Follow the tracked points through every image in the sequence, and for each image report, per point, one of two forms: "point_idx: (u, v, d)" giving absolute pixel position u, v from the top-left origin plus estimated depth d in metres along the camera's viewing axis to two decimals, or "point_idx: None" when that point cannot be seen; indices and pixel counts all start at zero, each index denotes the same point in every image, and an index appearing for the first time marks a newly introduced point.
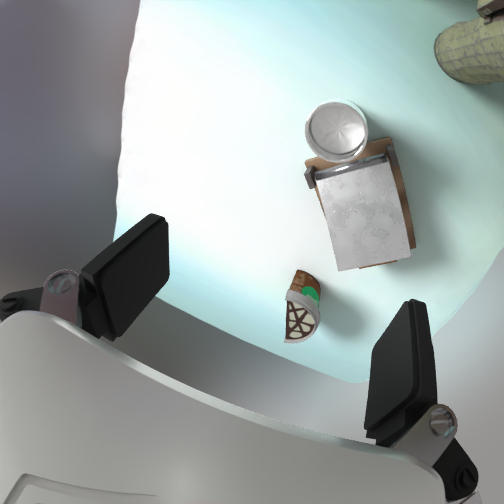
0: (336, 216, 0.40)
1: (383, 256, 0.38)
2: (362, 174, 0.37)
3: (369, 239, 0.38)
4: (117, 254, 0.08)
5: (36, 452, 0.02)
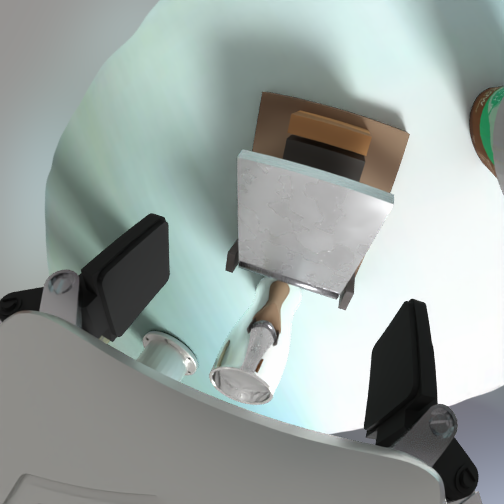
0: (341, 260, 0.24)
1: (291, 180, 0.19)
2: (277, 269, 0.29)
3: (306, 214, 0.21)
4: (117, 254, 0.08)
5: (36, 452, 0.02)
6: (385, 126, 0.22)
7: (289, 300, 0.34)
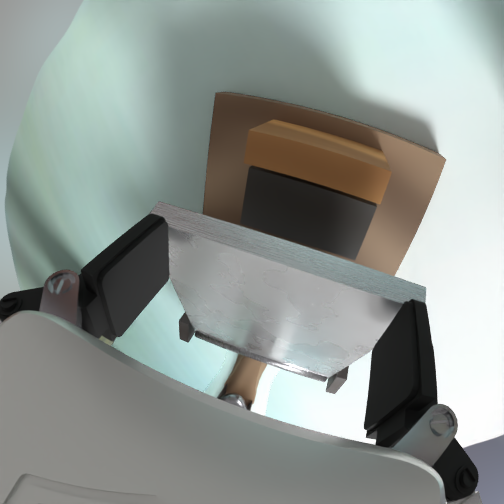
0: (329, 354, 0.16)
1: (239, 262, 0.11)
2: (244, 347, 0.21)
3: (272, 306, 0.13)
4: (117, 254, 0.08)
5: (36, 452, 0.02)
6: (409, 145, 0.13)
7: (266, 369, 0.25)
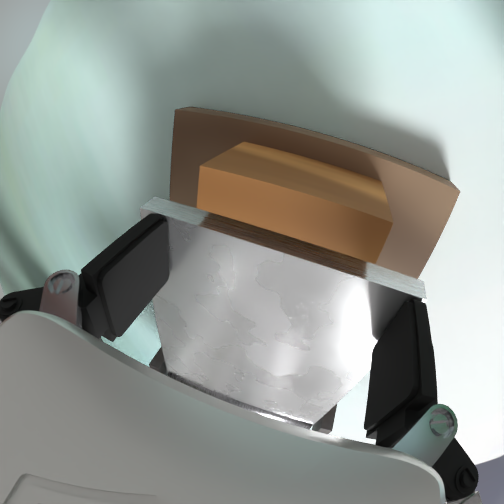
0: (319, 387, 0.14)
1: (232, 256, 0.10)
2: (221, 389, 0.18)
3: (261, 318, 0.12)
4: (117, 254, 0.08)
5: (36, 452, 0.02)
6: (416, 174, 0.11)
7: None
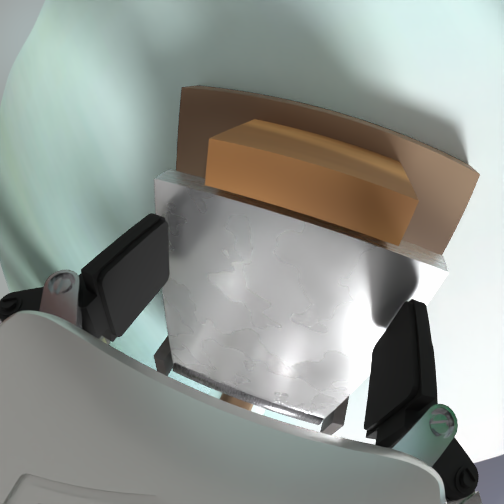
0: (333, 375, 0.13)
1: (250, 227, 0.10)
2: (229, 381, 0.17)
3: (278, 296, 0.11)
4: (117, 254, 0.08)
5: (36, 452, 0.02)
6: (435, 155, 0.10)
7: None
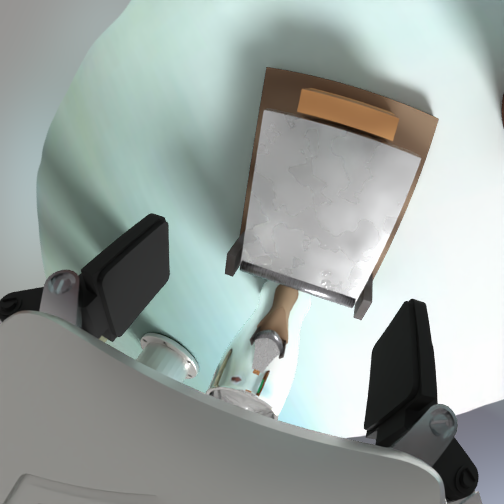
0: (364, 243, 0.21)
1: (318, 135, 0.18)
2: (287, 268, 0.25)
3: (331, 178, 0.19)
4: (117, 254, 0.08)
5: (36, 452, 0.02)
6: (411, 108, 0.17)
7: (297, 306, 0.30)
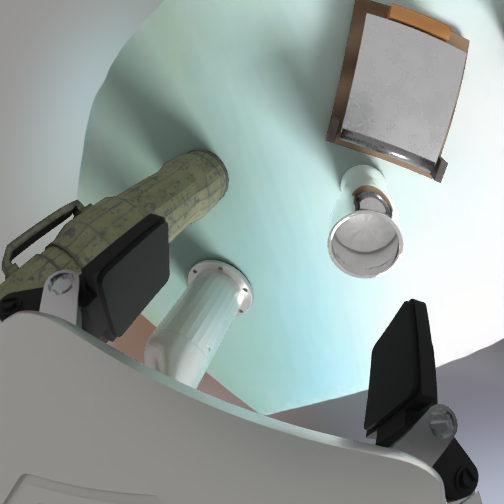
0: (438, 110, 0.22)
1: (403, 32, 0.19)
2: (381, 133, 0.26)
3: (413, 60, 0.20)
4: (117, 254, 0.08)
5: (36, 452, 0.02)
6: (452, 32, 0.19)
7: (381, 183, 0.31)
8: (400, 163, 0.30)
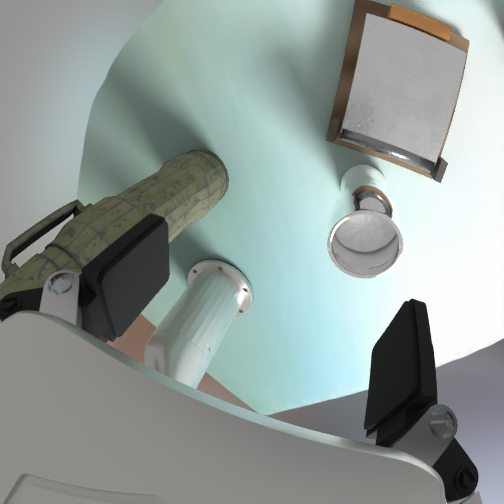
0: (438, 110, 0.22)
1: (403, 32, 0.19)
2: (381, 133, 0.26)
3: (413, 60, 0.20)
4: (117, 254, 0.08)
5: (36, 452, 0.02)
6: (451, 32, 0.19)
7: (381, 183, 0.31)
8: (400, 163, 0.30)
